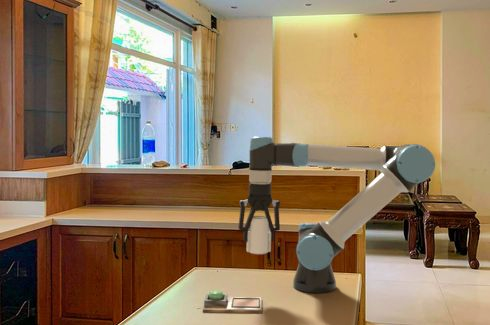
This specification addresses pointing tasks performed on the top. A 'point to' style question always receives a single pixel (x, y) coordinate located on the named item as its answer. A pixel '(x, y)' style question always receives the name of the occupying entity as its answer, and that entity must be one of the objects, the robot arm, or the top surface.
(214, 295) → the button
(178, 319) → the top surface
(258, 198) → the robot arm
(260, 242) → the can
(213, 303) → the tan rectangular board
